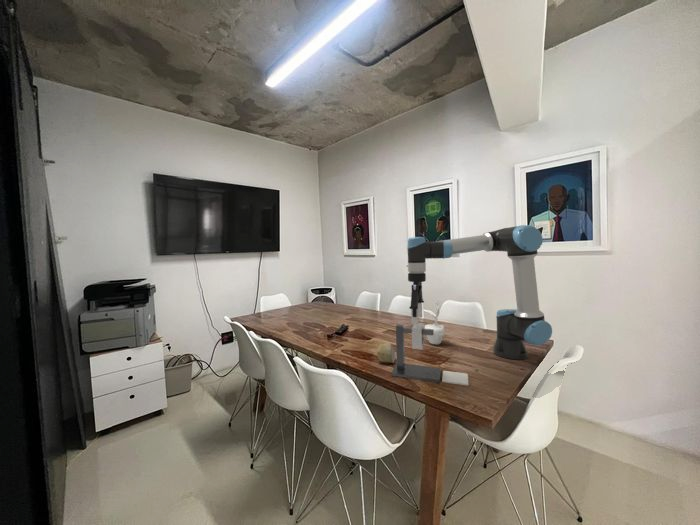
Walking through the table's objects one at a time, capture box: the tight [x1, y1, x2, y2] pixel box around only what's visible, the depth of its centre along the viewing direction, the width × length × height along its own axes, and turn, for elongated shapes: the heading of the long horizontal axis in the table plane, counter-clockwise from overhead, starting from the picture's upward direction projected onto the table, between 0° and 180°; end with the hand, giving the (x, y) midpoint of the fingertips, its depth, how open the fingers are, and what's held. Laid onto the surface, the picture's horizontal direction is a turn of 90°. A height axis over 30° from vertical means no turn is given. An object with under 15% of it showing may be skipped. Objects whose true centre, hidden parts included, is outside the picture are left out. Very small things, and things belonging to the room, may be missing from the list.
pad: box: [441, 370, 469, 386], centre depth 115 cm, size 10×10×1 cm
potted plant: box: [422, 301, 446, 345], centre depth 160 cm, size 13×12×25 cm
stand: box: [391, 323, 442, 383], centre depth 120 cm, size 20×12×21 cm, turn 68°
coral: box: [376, 342, 396, 364], centre depth 135 cm, size 10×10×10 cm
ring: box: [411, 322, 425, 351], centre depth 120 cm, size 4×9×9 cm, turn 158°
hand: (417, 320), depth 120 cm, fingers open, 13 cm apart
